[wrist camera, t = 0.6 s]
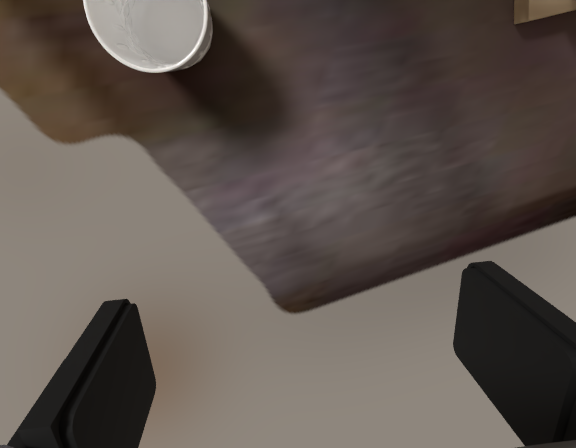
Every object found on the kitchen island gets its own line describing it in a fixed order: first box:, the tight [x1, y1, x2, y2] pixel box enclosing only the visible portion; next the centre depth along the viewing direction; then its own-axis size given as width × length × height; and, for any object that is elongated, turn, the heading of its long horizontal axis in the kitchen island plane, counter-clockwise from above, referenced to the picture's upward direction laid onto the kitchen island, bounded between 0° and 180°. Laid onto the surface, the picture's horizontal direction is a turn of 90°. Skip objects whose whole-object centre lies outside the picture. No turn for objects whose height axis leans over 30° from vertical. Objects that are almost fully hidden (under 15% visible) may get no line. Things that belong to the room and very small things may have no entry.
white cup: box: [83, 0, 213, 73], centre depth 29 cm, size 8×8×10 cm
